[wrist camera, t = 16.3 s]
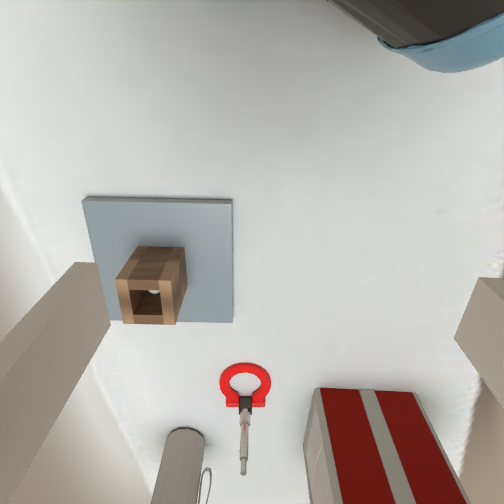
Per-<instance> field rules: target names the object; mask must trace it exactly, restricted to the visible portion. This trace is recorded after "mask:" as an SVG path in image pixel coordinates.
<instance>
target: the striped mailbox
mask: <svg viewBox="0 0 504 504" xmlns="http://www.w3.org/2000/svg"><path fill="white" fill-rule="evenodd" d="M303 449H304V457H305V465H306V473H307V481H308V489H309V497H310V504H471V503H470V501H469V499H468V497H467V495H466V493H465V491H464V489H463V487H462V485H461V483H460V481H459V479H458V477H457V475H456V473H455V471H454V469H453V467H452V465H451V463H450V461H449V459H448V457H447V455H446V453H445V451H444V449H443V447H442V445H441V443H440V441H439V439H438V437H437V435H436V433H435V431H434V429H433V427H432V425H431V423H430V421H429V419H428V417H427V415H426V413H425V411H424V409H423V407H422V405H421V403H420V401H419V399H418V397H417V395H416V393H412V392H396V391H376V390H372V389H359V390H356V389H336V388H316V389H314V393H313V397H312V402H311V407H310V412H309V417H308V422H307V427H306V432H305V437H304V442H303Z"/></svg>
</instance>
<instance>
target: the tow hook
mask: <svg viewBox="0 0 504 504" xmlns="http://www.w3.org/2000/svg"><path fill="white" fill-rule="evenodd" d="M245 372H247V373H252V374H254V375H256V376H257V377H258V378H259V379H260V380H261V383H262V384H261V387H260V388H259V389H258V390H257V391H256V392H254V393H253V394H252V398H251V397H240V398H239V394H238V393H237V392H235V391H234V390H232V388H231V387H230V385H229V381H230V379H231V378H232V377H233V376H234V375H236V374H238V373H245ZM270 387H271V381H270V377H269V374H268V373H267V372H266V370H265V369H263V368H262V367H260V366H258V365H256V364H252V363H238V364H234V365H232V366H230V367H228V368H227V369H226V370H225V371H224V372H223V373H222V375H221V378H220V389H221V391H222V393H223V394H224V395H225V396H226V397H227V398H226V407H239V415H240V426H241V442H240V460H241V475H246V462H247V460H248V431H249V426H250V415H252V407H265V398H264V397H265V396H266V395H267V394H268V392H269V391H270Z"/></svg>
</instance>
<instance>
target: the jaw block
mask: <svg viewBox="0 0 504 504" xmlns="http://www.w3.org/2000/svg"><path fill="white" fill-rule="evenodd" d="M115 283H116V288H117V293H118V299H119V304H120V309H121V314H122V320H123V324H164V325H175V324H176V321H177V318H178V315H179V312H180V308H181V305H182V302H183V299H184V296H185V293H186V290H187V287H188V286H187V273H186V260H185V247H156V246H137V248H136V249H135V251H134V252H133V254H132V255H131V256H130V258H129V259H128V261H127V262H126V264H125V265H124V267H123V268H122V270H121V271H120V272H119V274H118V275H117V277H116V278H115ZM148 290H160V292H159V293H157V294H153V293H151V292H149V291H148Z"/></svg>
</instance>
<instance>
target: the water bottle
mask: <svg viewBox="0 0 504 504" xmlns="http://www.w3.org/2000/svg"><path fill="white" fill-rule="evenodd" d="M204 447H205V444H204V439H203V437H202V436H201V435H200V434H199V433H198V432H196V431H193V430H190V429H178V430H176V431H174V432H172V433H170V435H169V436H168V438H167V440H166V443H165V447H164V451H163V455H162V460H161V464H160V468H159V472H158V476H157V480H156V484H155V488H154V492H153V496H152V500H151V504H197V497H198V490H199V483H200V490H199V500H198V504H200V495H201V486H202V477H203V474H204V473H205V471H209V472H210V487H209V492H210V488H211V478H212V473H211V468H208V467H206V468H205V469H204V471H203V473H202V476H201V469H202V461H203V454H204ZM200 476H201V481H200ZM209 492H208V497H209ZM208 497H207V501H208ZM207 501H206V504H207Z"/></svg>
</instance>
